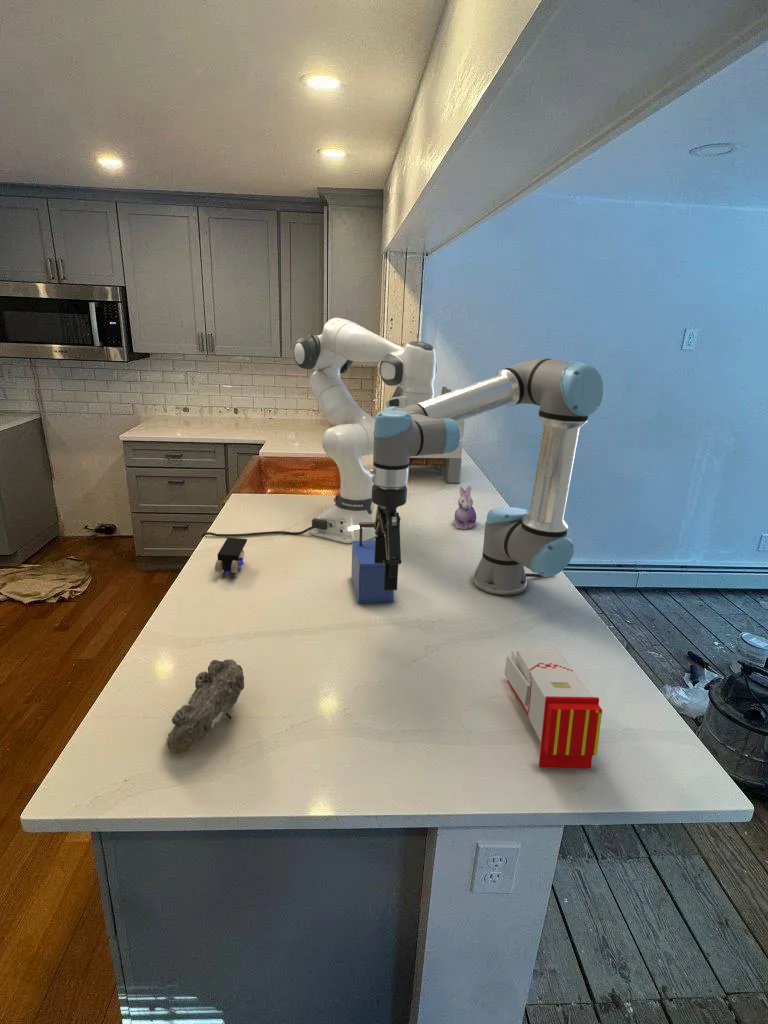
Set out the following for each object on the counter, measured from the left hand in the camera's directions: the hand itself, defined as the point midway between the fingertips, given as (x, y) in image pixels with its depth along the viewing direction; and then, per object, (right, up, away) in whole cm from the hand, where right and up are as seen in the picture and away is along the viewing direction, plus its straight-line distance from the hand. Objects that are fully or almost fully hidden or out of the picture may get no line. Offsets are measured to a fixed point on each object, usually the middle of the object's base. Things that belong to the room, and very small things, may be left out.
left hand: (414, 449), depth 165 cm
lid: (-12, -30, -8) cm, 33 cm away
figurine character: (-54, -35, +3) cm, 64 cm away
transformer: (+8, +1, +110) cm, 111 cm away
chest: (-13, -40, -5) cm, 42 cm away
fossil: (-42, -57, -57) cm, 91 cm away
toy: (+22, -59, -52) cm, 82 cm away
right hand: (-9, -32, -37) cm, 50 cm away
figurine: (+21, -23, +46) cm, 55 cm away
